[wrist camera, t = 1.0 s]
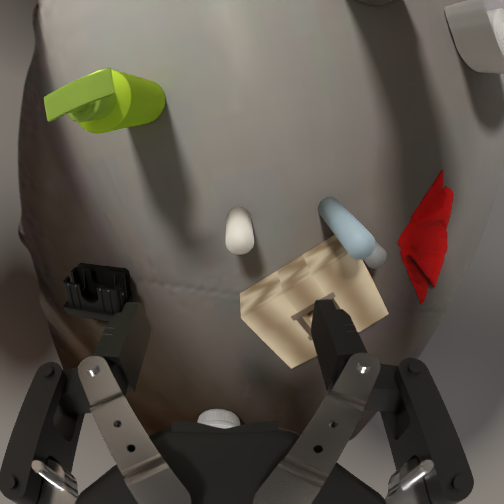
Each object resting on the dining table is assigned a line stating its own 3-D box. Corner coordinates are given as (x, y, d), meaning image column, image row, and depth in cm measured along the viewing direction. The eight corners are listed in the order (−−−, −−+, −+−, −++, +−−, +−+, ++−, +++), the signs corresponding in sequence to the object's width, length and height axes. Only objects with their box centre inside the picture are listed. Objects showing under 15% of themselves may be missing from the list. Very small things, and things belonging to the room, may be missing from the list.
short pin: (367, 229, 42) (382, 243, 37) (375, 245, 43) (389, 260, 39) (350, 240, 42) (363, 256, 38) (358, 256, 44) (371, 272, 39)
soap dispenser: (177, 115, 33) (118, 122, 15) (127, 129, 33) (36, 156, 15) (168, 72, 30) (103, 39, 13) (118, 88, 31) (22, 82, 13)
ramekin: (205, 401, 59) (204, 420, 54) (250, 412, 61) (252, 430, 57) (189, 421, 63) (187, 439, 58) (230, 431, 66) (230, 448, 61)
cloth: (415, 158, 38) (423, 161, 36) (472, 176, 39) (480, 179, 37) (373, 303, 49) (378, 311, 47) (429, 302, 51) (435, 309, 49)
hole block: (341, 230, 42) (357, 249, 36) (374, 292, 47) (389, 314, 42) (240, 293, 45) (241, 319, 40) (286, 343, 51) (291, 369, 46)
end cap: (82, 297, 45) (67, 322, 39) (76, 262, 41) (57, 284, 35) (135, 305, 46) (124, 332, 40) (131, 268, 43) (117, 293, 37)
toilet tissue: (494, 80, 30) (534, 84, 21) (448, 61, 30) (492, 59, 21) (489, 28, 25) (527, 25, 16) (441, 4, 25) (481, -7, 16)
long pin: (333, 193, 39) (368, 226, 28) (343, 211, 40) (379, 249, 30) (313, 205, 40) (342, 243, 29) (324, 223, 41) (355, 265, 30)
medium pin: (241, 202, 39) (243, 223, 32) (255, 220, 40) (259, 244, 34) (222, 215, 40) (219, 239, 33) (236, 233, 41) (236, 259, 34)
